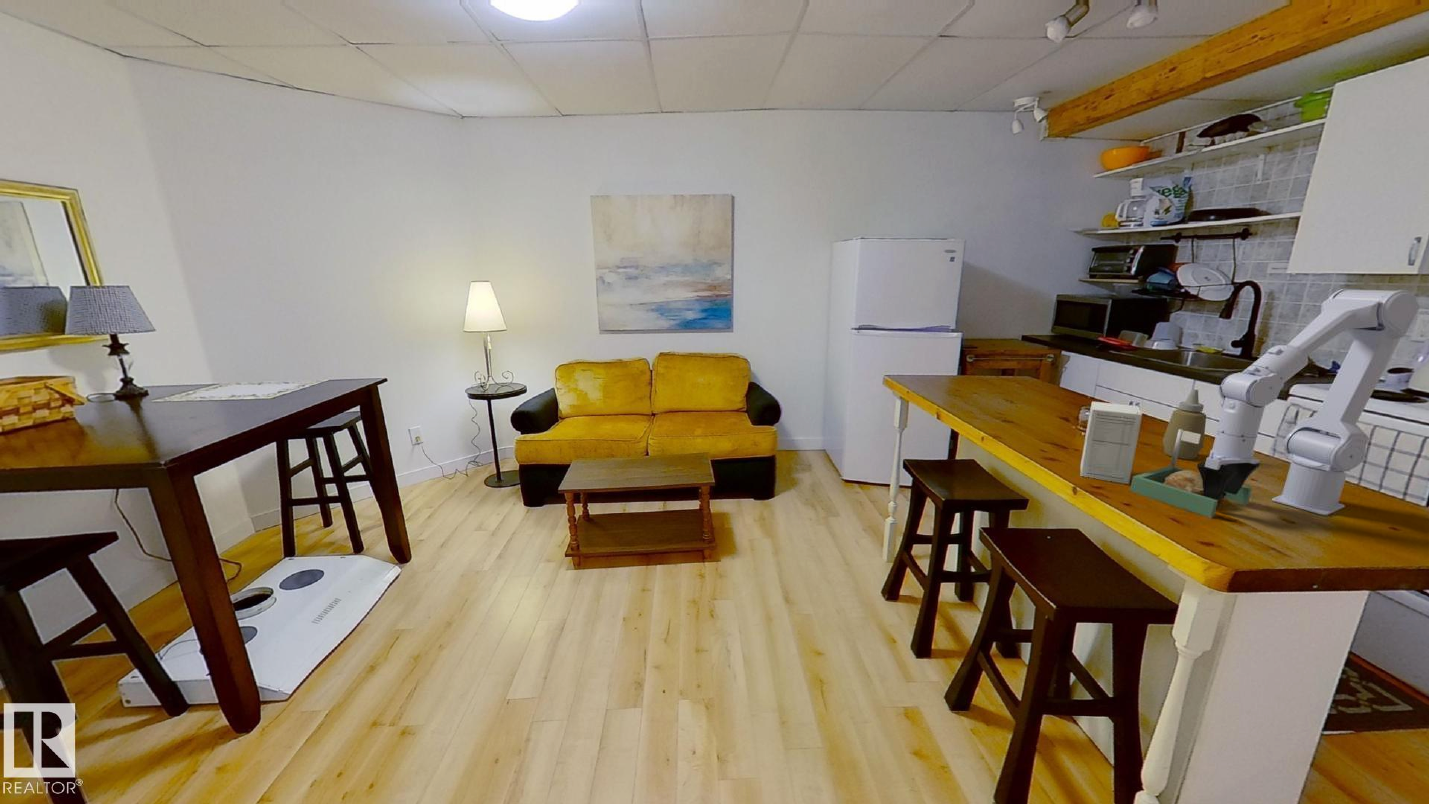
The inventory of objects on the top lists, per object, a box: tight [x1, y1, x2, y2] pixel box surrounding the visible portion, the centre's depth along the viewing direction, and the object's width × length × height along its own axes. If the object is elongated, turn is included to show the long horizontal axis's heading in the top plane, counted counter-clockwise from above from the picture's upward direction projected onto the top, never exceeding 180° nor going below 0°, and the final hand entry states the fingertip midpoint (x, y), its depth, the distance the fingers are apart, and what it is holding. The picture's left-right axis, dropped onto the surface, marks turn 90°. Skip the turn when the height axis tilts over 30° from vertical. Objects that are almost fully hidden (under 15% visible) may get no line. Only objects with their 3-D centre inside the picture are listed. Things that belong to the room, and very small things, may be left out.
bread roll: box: [1163, 469, 1226, 508], centre depth 111 cm, size 10×10×8 cm
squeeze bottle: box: [1162, 388, 1207, 460], centre depth 134 cm, size 8×8×18 cm
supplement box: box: [1079, 401, 1143, 485], centre depth 122 cm, size 10×9×17 cm
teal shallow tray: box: [1129, 429, 1253, 519], centre depth 110 cm, size 15×14×12 cm
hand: (1220, 495), depth 107 cm, fingers open, 7 cm apart
